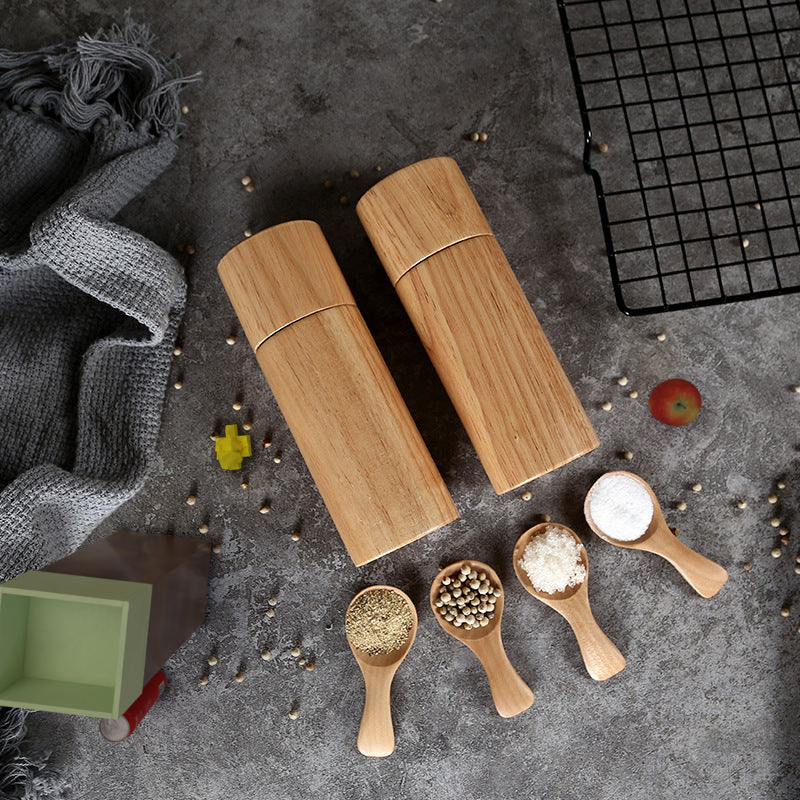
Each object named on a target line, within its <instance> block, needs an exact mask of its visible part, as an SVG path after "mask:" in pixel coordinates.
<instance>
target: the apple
mask: <svg viewBox="0 0 800 800" xmlns="http://www.w3.org/2000/svg"><path fill="white" fill-rule="evenodd" d="M702 401H703V400H702V396H701V392H700V391H699V389H698V387H696V385H695V384H693V383H692V382H691V381H689V380H687V379H684V378H679V377H678V378H677V377H676V378H670V379H666V380H664V381H662V382H660V383H659V384H658V385H656V387H654V389H653V390H652V391H651V393H650V395H649V397H648V400H647V408H648V411H649V413H650V415H651V416H652V417H653V419H655V420H656V421H658V422H660V423H662V424H664V425H666V426H670V427H682V426H686V425H688V424H690V423H692V422H693V421H695V419H696V418H697V417H698V416H699V415H700V412H701V409H702V404H703V403H702Z"/></svg>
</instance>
